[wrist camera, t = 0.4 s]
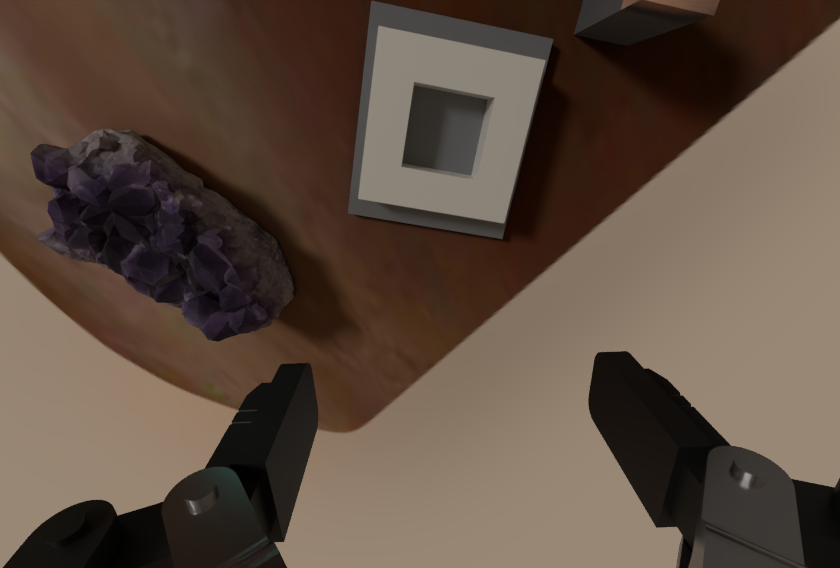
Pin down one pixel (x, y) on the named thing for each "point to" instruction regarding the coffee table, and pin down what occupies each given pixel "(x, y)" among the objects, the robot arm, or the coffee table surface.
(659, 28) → the plug
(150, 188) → the geode
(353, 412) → the coffee table surface
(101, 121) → the coffee table surface
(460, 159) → the socket
